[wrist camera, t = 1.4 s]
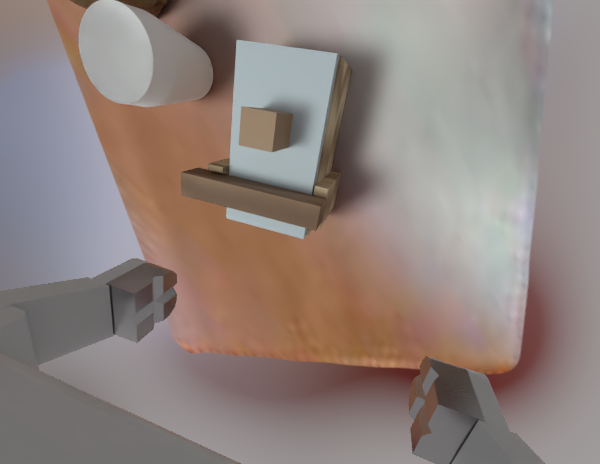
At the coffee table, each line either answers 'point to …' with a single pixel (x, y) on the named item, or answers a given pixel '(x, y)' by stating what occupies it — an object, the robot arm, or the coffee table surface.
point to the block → (132, 4)
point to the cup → (140, 57)
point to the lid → (279, 120)
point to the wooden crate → (325, 177)
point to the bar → (254, 197)
